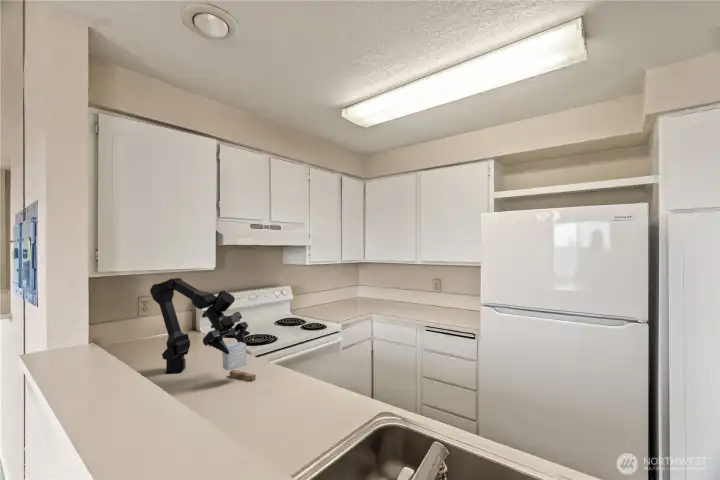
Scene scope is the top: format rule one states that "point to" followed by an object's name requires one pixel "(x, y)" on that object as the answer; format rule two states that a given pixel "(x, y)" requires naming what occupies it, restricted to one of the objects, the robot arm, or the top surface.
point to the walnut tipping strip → (242, 375)
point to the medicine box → (235, 356)
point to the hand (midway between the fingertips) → (237, 350)
